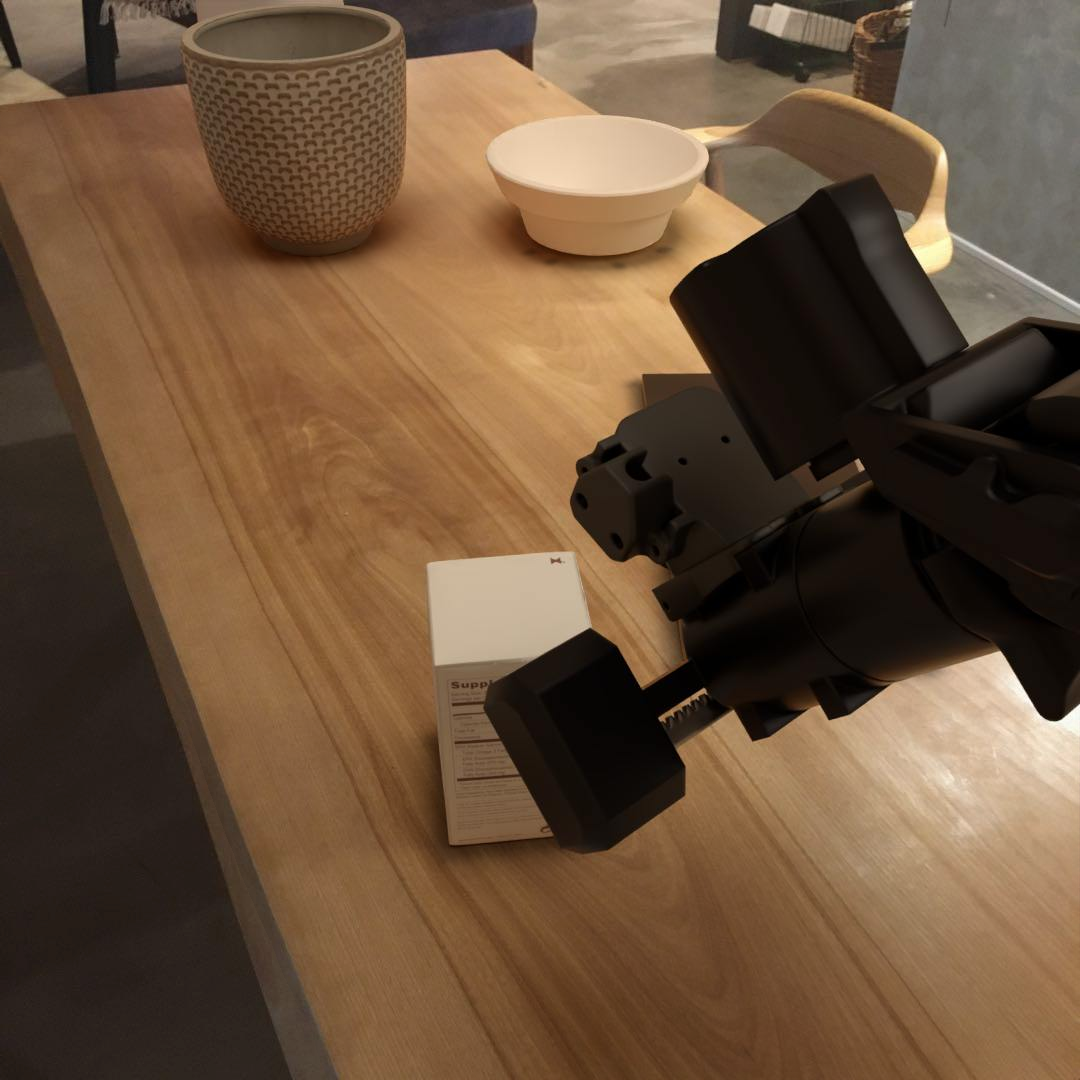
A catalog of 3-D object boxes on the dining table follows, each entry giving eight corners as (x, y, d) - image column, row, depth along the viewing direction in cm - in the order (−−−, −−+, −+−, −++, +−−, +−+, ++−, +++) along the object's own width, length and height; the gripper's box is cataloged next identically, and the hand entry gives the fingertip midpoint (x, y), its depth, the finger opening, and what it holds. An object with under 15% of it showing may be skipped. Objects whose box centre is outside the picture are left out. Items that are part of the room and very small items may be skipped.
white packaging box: (438, 739, 64) (423, 556, 56) (575, 727, 64) (579, 545, 56) (445, 851, 58) (429, 665, 50) (594, 837, 58) (602, 651, 51)
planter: (449, 254, 112) (438, 44, 100) (245, 295, 105) (208, 76, 94) (378, 184, 126) (361, -7, 114) (194, 217, 119) (156, 17, 108)
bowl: (544, 297, 105) (544, 209, 100) (455, 213, 120) (451, 132, 115) (744, 254, 112) (753, 169, 107) (636, 180, 127) (640, 102, 122)
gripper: (924, 269, 40) (689, 440, 54) (494, 467, 31) (340, 614, 44) (1095, 552, 40) (813, 654, 53) (706, 842, 30) (484, 877, 44)
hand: (627, 688), depth 49 cm, fingers open, 9 cm apart
